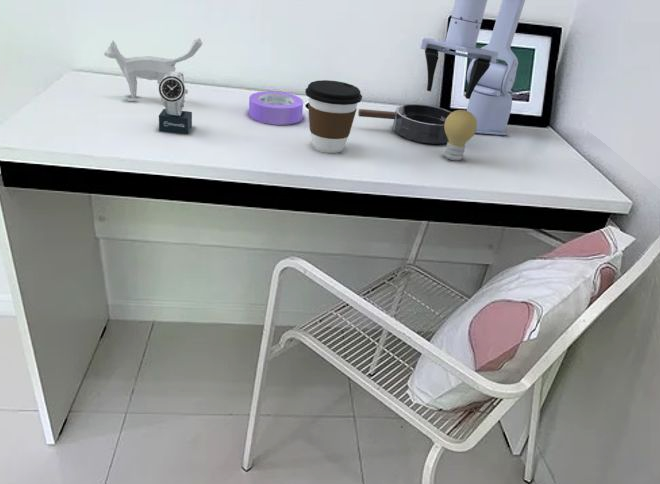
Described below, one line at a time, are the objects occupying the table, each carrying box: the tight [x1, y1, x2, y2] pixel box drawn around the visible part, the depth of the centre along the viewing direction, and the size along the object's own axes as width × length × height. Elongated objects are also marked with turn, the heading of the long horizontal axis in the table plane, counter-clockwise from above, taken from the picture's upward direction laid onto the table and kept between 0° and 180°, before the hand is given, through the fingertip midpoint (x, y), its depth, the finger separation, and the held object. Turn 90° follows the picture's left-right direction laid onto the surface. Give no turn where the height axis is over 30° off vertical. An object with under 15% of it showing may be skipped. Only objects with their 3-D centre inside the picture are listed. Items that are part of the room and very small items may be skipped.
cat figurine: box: [103, 37, 203, 102], centre depth 135 cm, size 4×20×14 cm, turn 97°
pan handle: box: [357, 108, 396, 120], centre depth 138 cm, size 8×2×2 cm, turn 97°
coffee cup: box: [304, 79, 363, 154], centre depth 124 cm, size 11×11×12 cm
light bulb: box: [444, 109, 477, 162], centre depth 128 cm, size 6×6×10 cm
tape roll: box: [248, 90, 304, 126], centre depth 139 cm, size 12×12×4 cm
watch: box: [158, 71, 193, 135], centre depth 123 cm, size 6×8×11 cm
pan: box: [392, 103, 453, 145], centre depth 141 cm, size 14×14×4 cm
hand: (448, 94), depth 124 cm, fingers open, 7 cm apart
